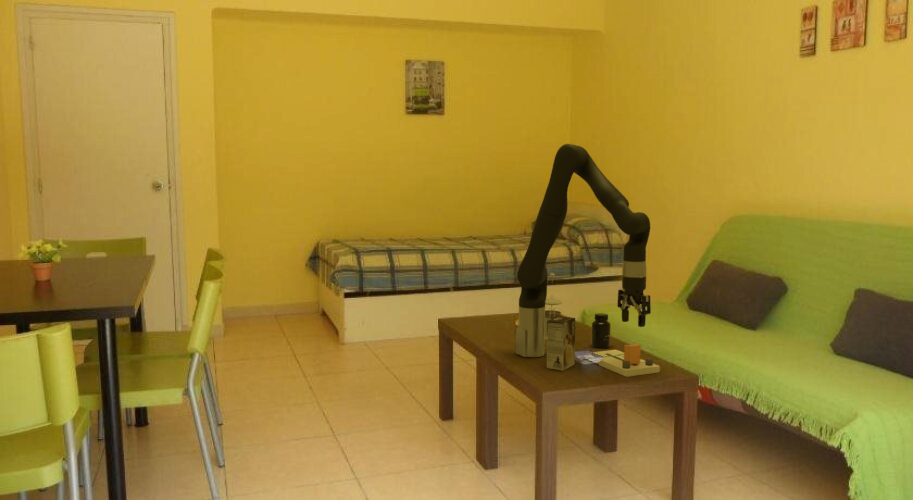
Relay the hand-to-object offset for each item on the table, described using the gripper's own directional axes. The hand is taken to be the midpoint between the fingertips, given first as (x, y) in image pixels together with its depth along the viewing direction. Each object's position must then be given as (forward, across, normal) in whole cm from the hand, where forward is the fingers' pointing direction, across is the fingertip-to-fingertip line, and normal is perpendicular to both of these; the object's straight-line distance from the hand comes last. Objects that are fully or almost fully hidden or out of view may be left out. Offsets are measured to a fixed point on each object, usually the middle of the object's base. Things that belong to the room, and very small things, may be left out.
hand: (633, 324), depth 251 cm
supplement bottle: (+15, -31, +9) cm, 36 cm away
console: (+15, -6, 0) cm, 16 cm away
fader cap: (+13, 0, 0) cm, 13 cm away
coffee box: (+15, -13, -19) cm, 28 cm away
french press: (+15, -51, 0) cm, 53 cm away
